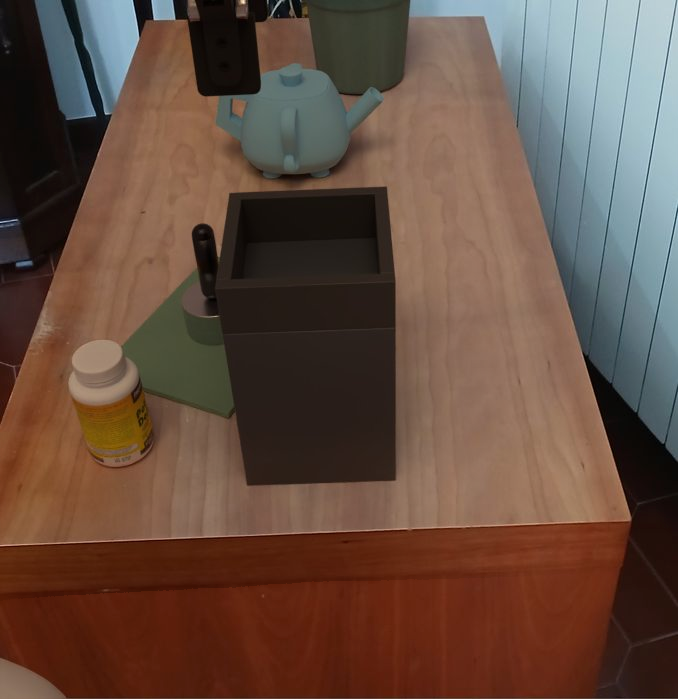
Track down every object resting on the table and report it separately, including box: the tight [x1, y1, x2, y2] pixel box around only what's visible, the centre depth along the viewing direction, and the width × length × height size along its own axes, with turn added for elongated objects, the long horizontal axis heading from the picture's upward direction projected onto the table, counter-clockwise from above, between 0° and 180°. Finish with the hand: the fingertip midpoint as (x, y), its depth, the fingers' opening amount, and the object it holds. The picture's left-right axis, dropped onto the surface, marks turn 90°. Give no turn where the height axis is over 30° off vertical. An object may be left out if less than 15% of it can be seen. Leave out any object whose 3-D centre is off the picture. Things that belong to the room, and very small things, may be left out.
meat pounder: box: [181, 222, 224, 345], centre depth 85 cm, size 6×6×12 cm
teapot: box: [214, 62, 385, 179], centre depth 109 cm, size 20×17×12 cm
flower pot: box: [305, 0, 411, 95], centre depth 125 cm, size 16×16×16 cm
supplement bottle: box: [67, 339, 155, 468], centre depth 75 cm, size 6×6×10 cm
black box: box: [215, 186, 397, 486], centre depth 72 cm, size 12×12×20 cm
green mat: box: [120, 256, 235, 419], centre depth 89 cm, size 20×14×1 cm
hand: (236, 54), depth 51 cm, fingers open, 9 cm apart
